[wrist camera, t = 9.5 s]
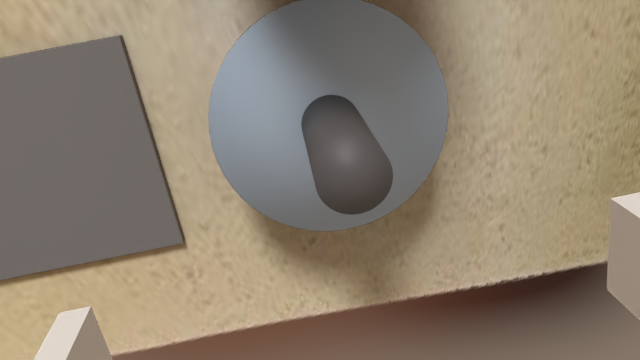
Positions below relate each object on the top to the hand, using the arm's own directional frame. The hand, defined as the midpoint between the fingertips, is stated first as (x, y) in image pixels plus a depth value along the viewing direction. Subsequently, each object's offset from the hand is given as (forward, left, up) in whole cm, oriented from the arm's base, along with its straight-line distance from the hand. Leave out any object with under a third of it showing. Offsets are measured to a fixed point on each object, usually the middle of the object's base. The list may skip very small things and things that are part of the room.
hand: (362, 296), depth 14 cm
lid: (+1, -1, -18) cm, 18 cm away
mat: (-17, -2, -23) cm, 28 cm away
